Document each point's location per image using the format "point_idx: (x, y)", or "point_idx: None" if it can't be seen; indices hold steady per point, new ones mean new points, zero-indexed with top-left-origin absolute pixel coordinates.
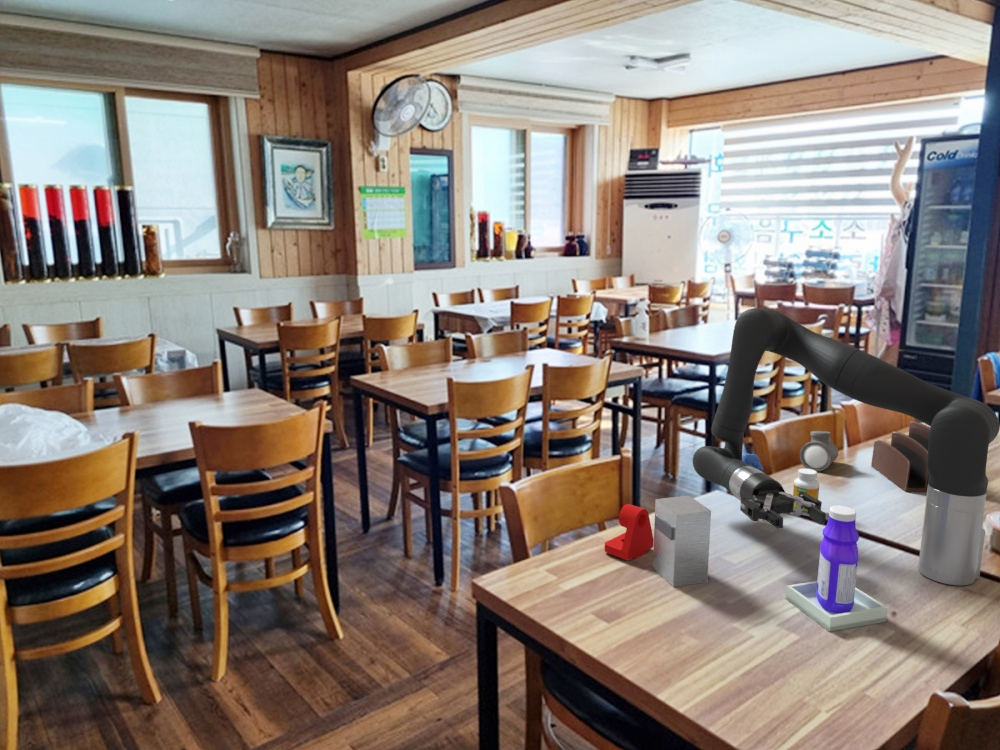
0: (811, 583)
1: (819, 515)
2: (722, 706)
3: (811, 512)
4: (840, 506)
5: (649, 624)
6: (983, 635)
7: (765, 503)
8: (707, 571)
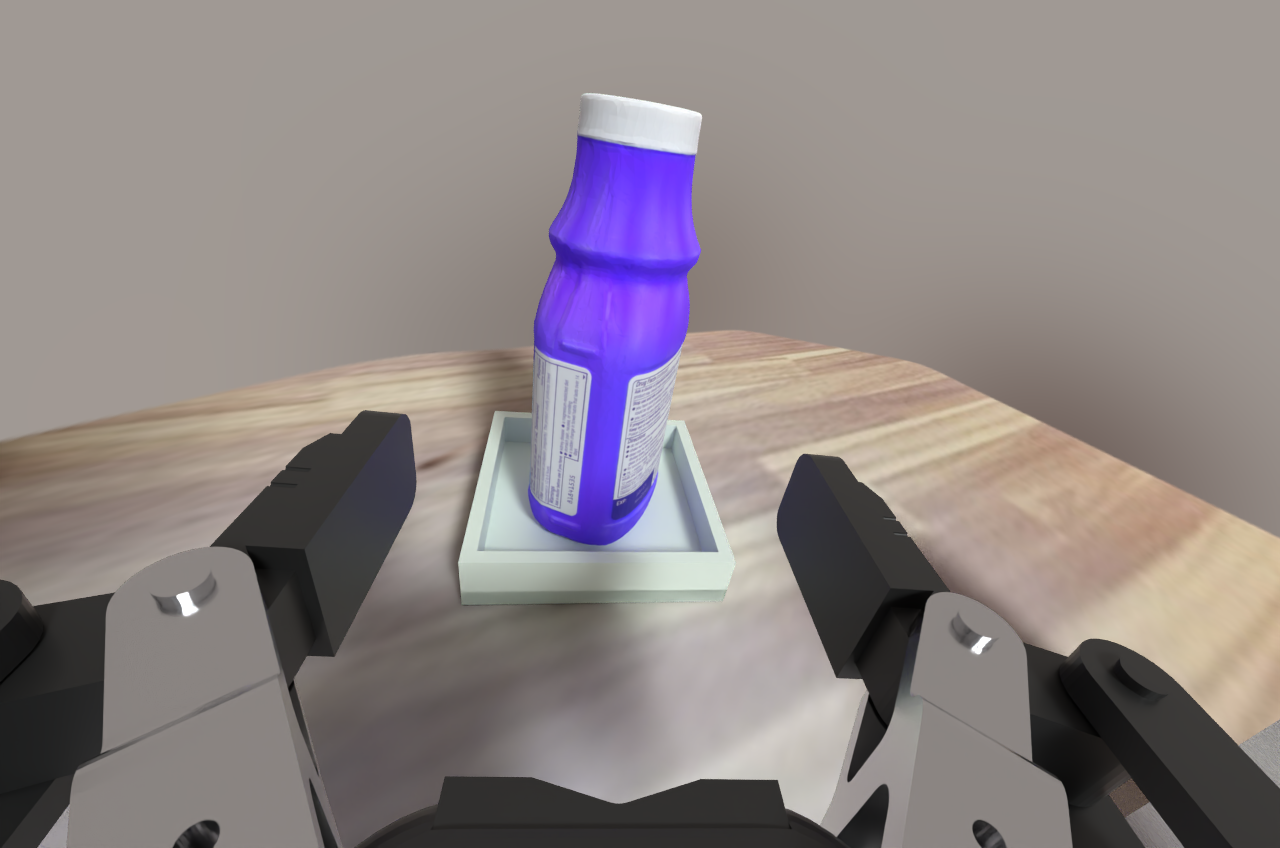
0: (623, 553)
1: (397, 453)
2: (933, 390)
3: (337, 573)
4: (628, 98)
5: (1173, 580)
6: (332, 374)
7: (1023, 758)
8: (1132, 813)
